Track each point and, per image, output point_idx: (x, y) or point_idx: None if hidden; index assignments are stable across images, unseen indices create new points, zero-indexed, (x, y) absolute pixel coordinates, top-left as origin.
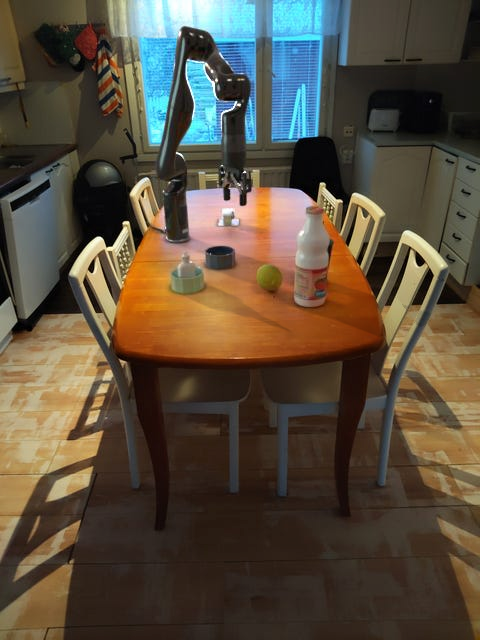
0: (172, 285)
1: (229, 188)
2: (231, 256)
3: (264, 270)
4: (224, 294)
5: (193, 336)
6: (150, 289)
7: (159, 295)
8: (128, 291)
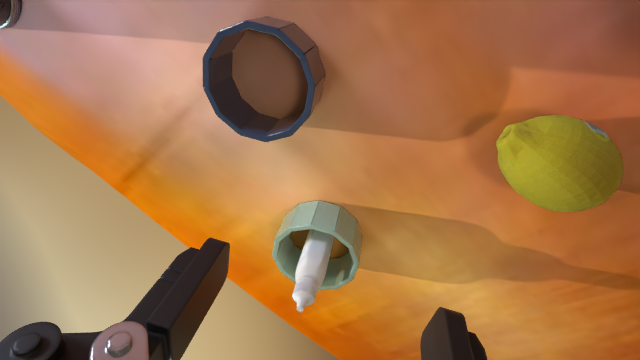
0: None
1: (165, 331)
2: (317, 85)
3: (561, 207)
4: (427, 226)
5: None
6: (271, 271)
7: None
8: (248, 291)
